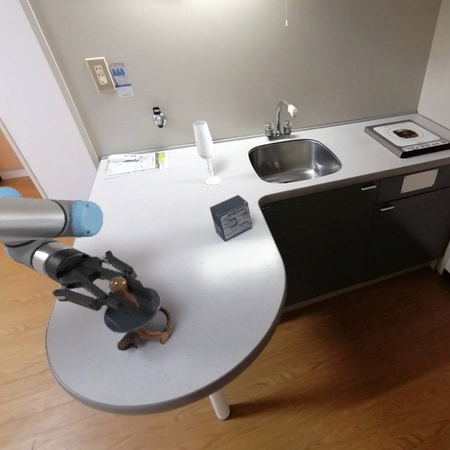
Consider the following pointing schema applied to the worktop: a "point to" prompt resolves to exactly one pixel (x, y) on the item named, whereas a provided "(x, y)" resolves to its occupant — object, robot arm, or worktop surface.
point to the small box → (231, 217)
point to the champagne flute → (205, 148)
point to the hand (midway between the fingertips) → (142, 301)
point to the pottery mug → (145, 334)
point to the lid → (125, 318)
